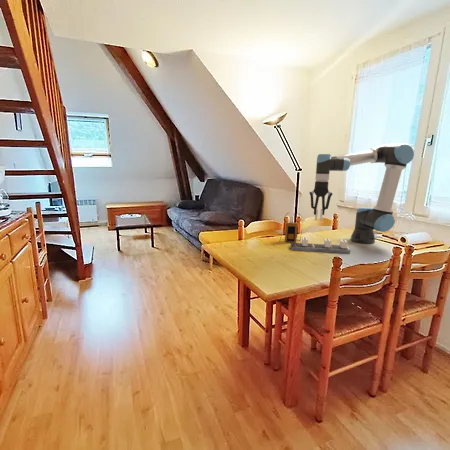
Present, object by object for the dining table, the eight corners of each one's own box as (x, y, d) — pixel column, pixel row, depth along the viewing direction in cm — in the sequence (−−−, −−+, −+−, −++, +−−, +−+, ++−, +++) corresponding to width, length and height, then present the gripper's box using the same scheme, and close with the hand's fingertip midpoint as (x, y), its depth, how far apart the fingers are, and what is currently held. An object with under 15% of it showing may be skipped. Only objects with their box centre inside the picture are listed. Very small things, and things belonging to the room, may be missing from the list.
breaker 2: (328, 245, 181) (329, 238, 180) (330, 247, 176) (331, 240, 175) (323, 244, 181) (324, 238, 180) (325, 247, 176) (325, 240, 175)
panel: (345, 248, 182) (346, 245, 182) (350, 253, 172) (350, 250, 172) (290, 245, 187) (290, 242, 187) (291, 250, 178) (291, 246, 177)
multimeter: (299, 238, 203) (301, 210, 198) (301, 242, 193) (303, 213, 189) (278, 238, 204) (279, 210, 200) (279, 242, 195) (281, 212, 190)
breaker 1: (306, 243, 183) (307, 237, 182) (307, 246, 178) (307, 239, 177) (301, 243, 183) (302, 237, 182) (302, 245, 178) (302, 239, 178)
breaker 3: (344, 246, 179) (345, 239, 178) (346, 248, 175) (347, 241, 174) (339, 245, 180) (340, 239, 179) (341, 248, 175) (342, 241, 174)
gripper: (334, 180, 173) (330, 219, 178) (307, 180, 175) (304, 218, 181) (336, 181, 166) (332, 222, 171) (309, 181, 168) (306, 220, 173)
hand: (318, 220), depth 176 cm, fingers open, 2 cm apart
